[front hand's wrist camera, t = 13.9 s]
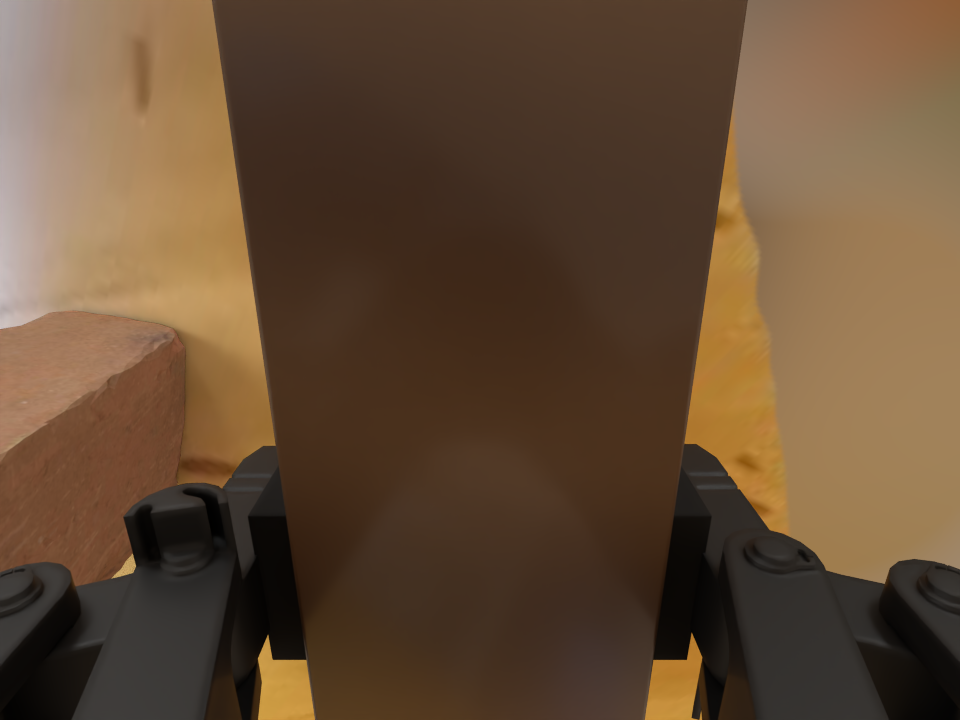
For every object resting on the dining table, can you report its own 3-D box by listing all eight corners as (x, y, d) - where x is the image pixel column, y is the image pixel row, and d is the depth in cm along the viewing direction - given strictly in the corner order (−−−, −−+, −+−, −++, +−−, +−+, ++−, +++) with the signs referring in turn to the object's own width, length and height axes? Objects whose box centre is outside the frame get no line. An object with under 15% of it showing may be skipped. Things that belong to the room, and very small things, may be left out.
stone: (189, 544, 54) (-90, 913, 27) (66, 525, 53) (-343, 885, 27) (195, 325, 47) (-170, 536, 21) (53, 301, 47) (-513, 486, 20)
